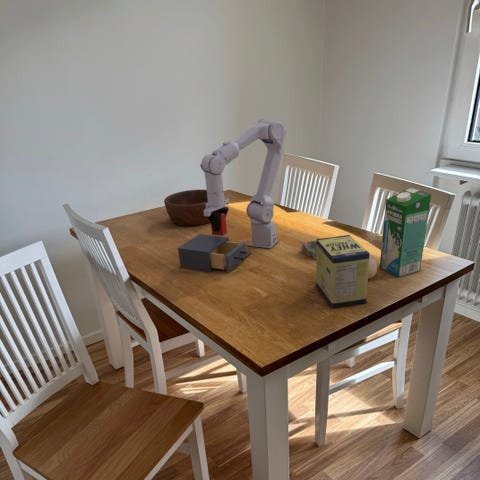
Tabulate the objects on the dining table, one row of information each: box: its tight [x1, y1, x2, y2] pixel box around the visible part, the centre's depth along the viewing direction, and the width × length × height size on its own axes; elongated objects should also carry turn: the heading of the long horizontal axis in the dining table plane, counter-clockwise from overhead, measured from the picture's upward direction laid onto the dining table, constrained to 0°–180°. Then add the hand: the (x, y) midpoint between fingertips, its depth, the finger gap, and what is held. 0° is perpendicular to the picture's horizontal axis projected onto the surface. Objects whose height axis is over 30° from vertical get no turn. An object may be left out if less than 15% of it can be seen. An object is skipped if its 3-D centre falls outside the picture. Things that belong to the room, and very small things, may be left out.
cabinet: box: [177, 233, 230, 273], centre depth 163 cm, size 12×14×7 cm
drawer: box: [209, 240, 252, 273], centre depth 159 cm, size 15×13×6 cm
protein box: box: [315, 234, 371, 309], centre depth 133 cm, size 10×16×16 cm
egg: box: [368, 254, 378, 280], centre depth 142 cm, size 6×6×8 cm
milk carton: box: [379, 187, 432, 278], centre depth 142 cm, size 9×9×25 cm
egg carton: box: [299, 239, 317, 260], centre depth 163 cm, size 11×8×4 cm
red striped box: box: [210, 214, 228, 237], centre depth 161 cm, size 5×3×8 cm, turn 63°
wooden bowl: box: [163, 189, 210, 227], centre depth 205 cm, size 25×25×10 cm
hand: (219, 229), depth 162 cm, fingers closed on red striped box, 3 cm apart
